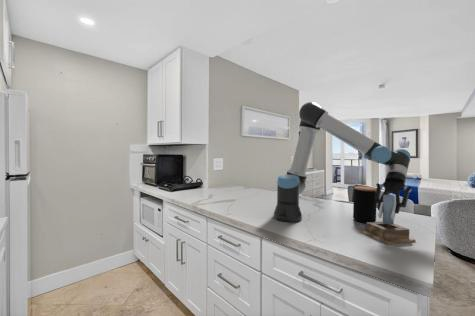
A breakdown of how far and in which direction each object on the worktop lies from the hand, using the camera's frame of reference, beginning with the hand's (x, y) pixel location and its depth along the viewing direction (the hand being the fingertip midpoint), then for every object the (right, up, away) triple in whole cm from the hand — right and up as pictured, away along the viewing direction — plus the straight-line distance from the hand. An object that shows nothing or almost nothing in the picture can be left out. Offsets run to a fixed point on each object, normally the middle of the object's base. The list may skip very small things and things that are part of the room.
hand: (385, 217), depth 94 cm
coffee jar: (+5, -9, +25) cm, 27 cm away
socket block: (+2, -9, +3) cm, 10 cm away
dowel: (+3, -3, +3) cm, 5 cm away
